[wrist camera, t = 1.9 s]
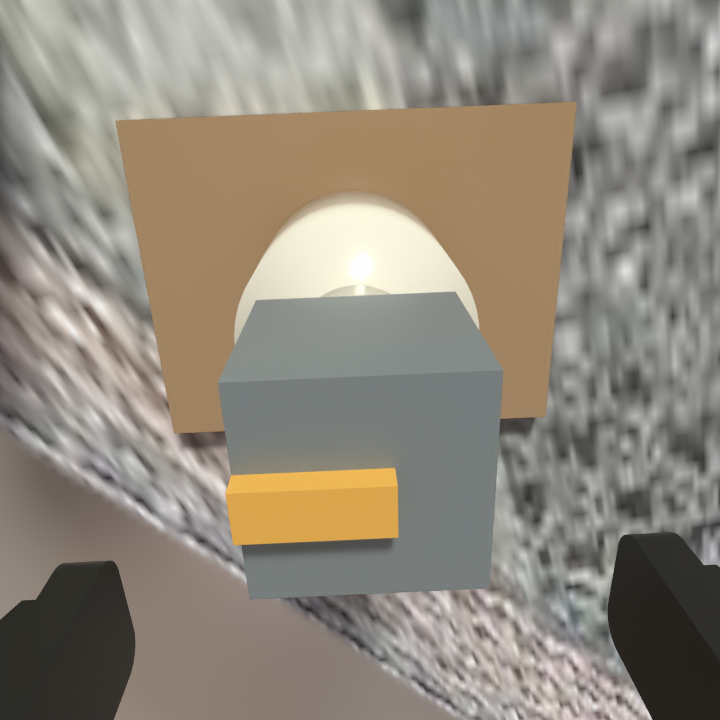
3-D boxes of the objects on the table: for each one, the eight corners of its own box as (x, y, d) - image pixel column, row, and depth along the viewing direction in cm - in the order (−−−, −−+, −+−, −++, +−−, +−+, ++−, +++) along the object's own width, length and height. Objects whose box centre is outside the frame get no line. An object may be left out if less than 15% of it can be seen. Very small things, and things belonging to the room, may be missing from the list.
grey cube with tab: (455, 291, 15) (511, 384, 10) (450, 461, 17) (495, 609, 12) (255, 300, 15) (210, 397, 10) (275, 469, 17) (245, 621, 12)
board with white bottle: (566, 102, 24) (728, 96, 14) (537, 405, 29) (638, 560, 19) (126, 120, 24) (-37, 127, 14) (180, 421, 29) (94, 585, 19)
